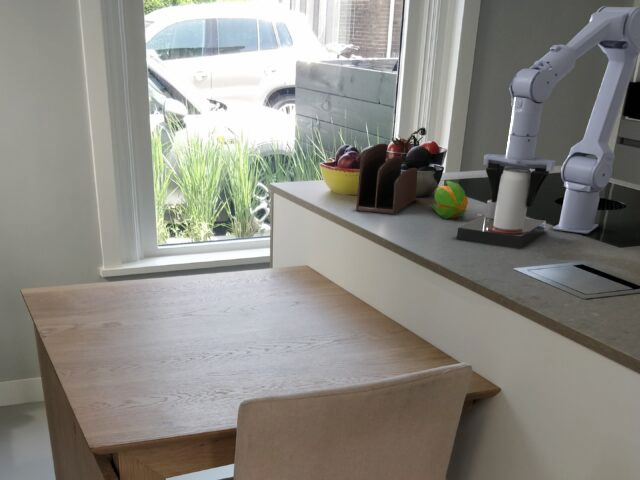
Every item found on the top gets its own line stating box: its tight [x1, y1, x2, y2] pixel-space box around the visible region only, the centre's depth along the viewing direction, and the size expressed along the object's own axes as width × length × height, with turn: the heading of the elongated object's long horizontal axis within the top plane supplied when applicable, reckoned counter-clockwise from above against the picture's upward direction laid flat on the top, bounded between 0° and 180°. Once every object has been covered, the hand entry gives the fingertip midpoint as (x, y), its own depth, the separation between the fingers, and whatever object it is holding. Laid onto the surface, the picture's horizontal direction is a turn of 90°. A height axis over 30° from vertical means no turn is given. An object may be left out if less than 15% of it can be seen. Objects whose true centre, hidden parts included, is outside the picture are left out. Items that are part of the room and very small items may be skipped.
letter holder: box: [355, 143, 418, 215], centre depth 208 cm, size 10×20×14 cm, turn 155°
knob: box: [484, 199, 497, 219], centre depth 189 cm, size 4×4×4 cm
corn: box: [430, 180, 469, 220], centre depth 203 cm, size 7×8×20 cm
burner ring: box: [487, 224, 529, 234], centre depth 181 cm, size 9×9×1 cm
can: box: [493, 166, 532, 231], centre depth 177 cm, size 6×6×12 cm
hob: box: [456, 213, 547, 249], centre depth 186 cm, size 19×15×3 cm
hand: (511, 203), depth 178 cm, fingers open, 7 cm apart
